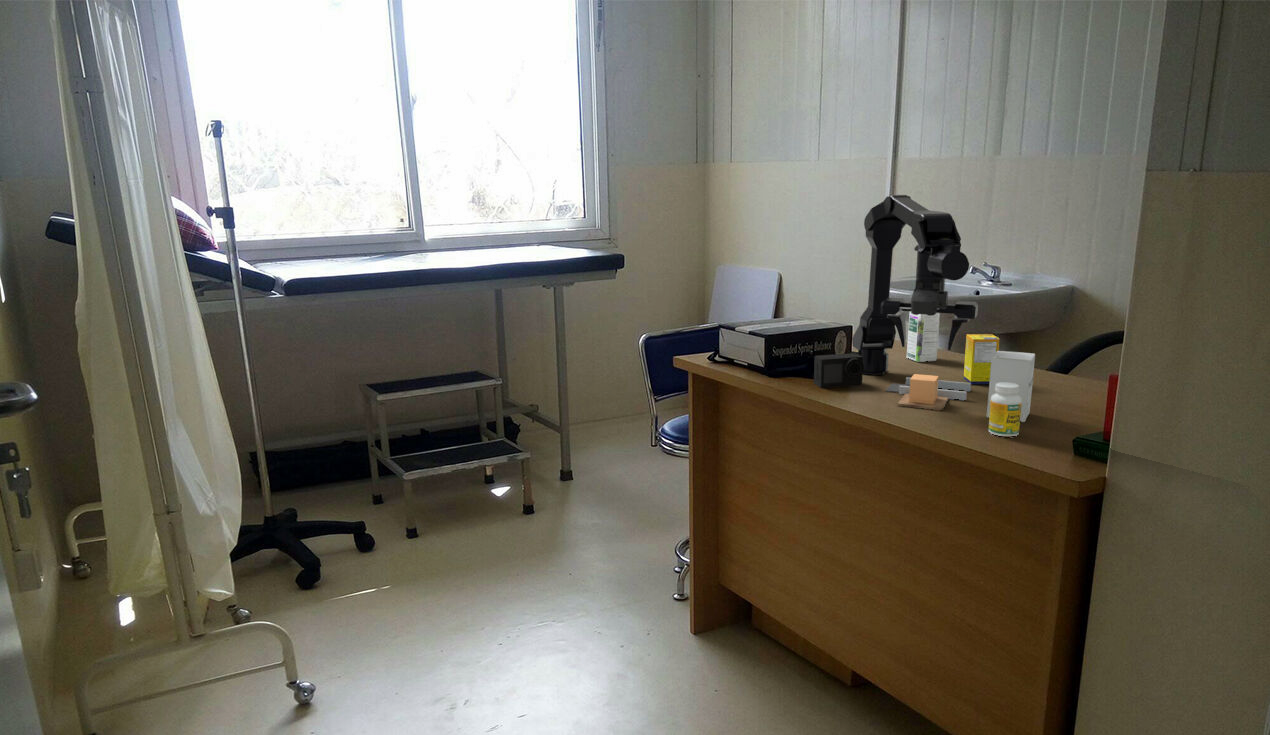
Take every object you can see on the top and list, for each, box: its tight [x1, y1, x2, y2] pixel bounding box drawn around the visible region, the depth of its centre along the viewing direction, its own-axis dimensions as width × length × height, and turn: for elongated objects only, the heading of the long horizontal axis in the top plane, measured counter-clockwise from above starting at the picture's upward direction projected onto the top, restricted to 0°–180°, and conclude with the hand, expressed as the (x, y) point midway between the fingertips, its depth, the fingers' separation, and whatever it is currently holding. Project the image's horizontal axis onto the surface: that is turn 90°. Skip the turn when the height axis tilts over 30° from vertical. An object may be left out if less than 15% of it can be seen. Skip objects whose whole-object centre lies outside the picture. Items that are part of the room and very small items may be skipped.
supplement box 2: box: [986, 350, 1036, 423], centre depth 165 cm, size 7×7×13 cm
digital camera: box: [813, 352, 864, 389], centre depth 193 cm, size 10×5×7 cm, turn 101°
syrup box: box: [906, 311, 941, 363], centre depth 216 cm, size 6×6×14 cm
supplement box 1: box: [963, 333, 1000, 385], centre depth 192 cm, size 6×6×11 cm
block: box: [909, 373, 939, 404], centre depth 176 cm, size 5×5×5 cm
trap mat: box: [885, 382, 910, 394], centre depth 189 cm, size 5×7×1 cm
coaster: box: [897, 393, 949, 411], centre depth 177 cm, size 9×9×1 cm
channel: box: [898, 376, 972, 401], centre depth 185 cm, size 14×9×2 cm, turn 62°
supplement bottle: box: [988, 382, 1022, 437], centre depth 154 cm, size 5×5×10 cm
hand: (926, 348), depth 174 cm, fingers open, 9 cm apart
